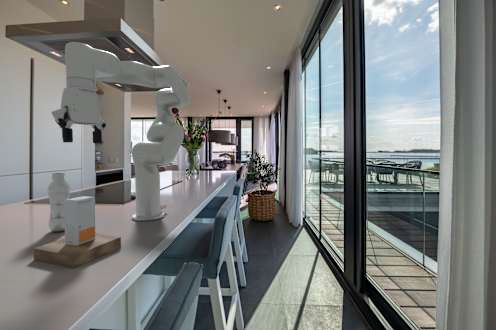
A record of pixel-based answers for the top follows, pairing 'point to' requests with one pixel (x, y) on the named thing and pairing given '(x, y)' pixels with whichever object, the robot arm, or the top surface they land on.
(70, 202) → the skincare box
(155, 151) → the robot arm
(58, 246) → the walnut base
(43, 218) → the top surface
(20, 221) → the top surface
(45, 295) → the top surface
